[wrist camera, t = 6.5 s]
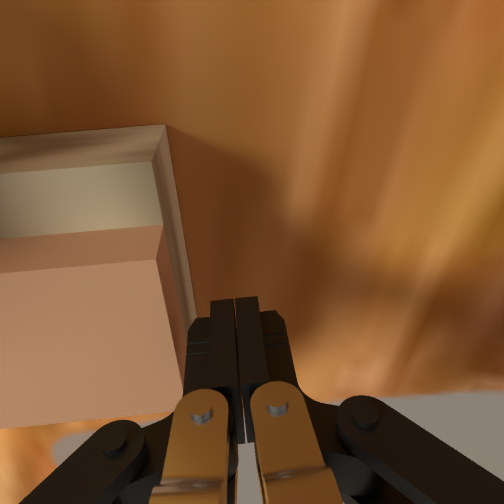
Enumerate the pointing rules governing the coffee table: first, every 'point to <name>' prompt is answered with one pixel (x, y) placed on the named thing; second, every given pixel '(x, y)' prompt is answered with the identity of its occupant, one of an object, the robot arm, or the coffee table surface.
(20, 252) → the pink block
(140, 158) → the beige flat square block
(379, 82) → the coffee table surface
